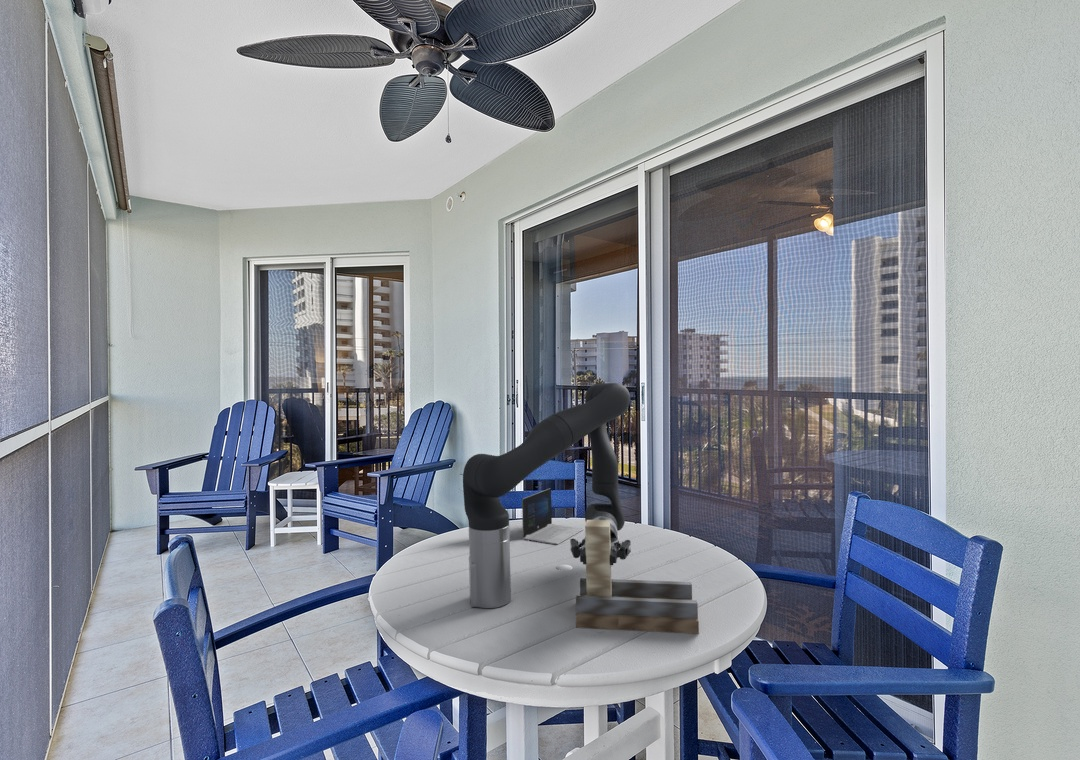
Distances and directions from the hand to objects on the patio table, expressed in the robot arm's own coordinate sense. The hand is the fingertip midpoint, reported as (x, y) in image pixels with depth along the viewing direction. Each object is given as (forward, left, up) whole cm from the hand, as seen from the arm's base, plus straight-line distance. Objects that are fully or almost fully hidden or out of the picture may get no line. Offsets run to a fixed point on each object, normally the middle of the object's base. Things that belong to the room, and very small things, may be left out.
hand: (598, 560), depth 112 cm
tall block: (+1, +2, -9) cm, 9 cm away
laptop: (+4, +61, -13) cm, 63 cm away
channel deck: (+8, 0, -12) cm, 15 cm away
